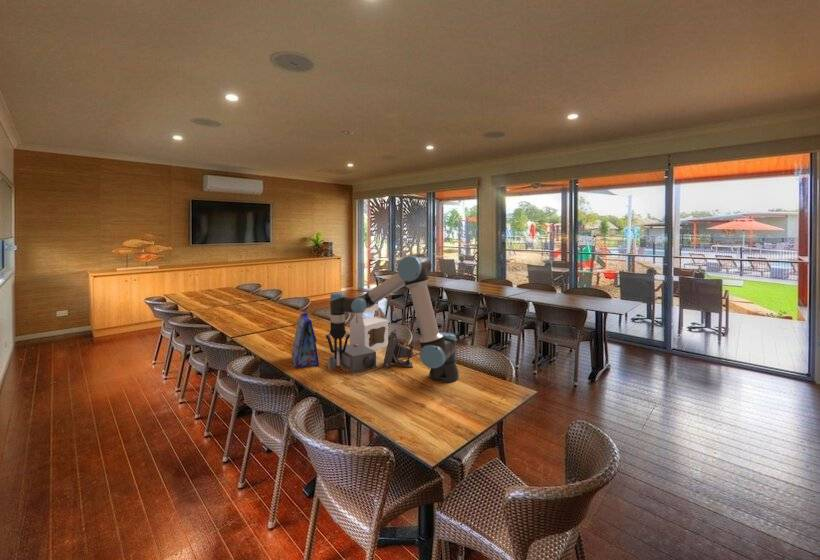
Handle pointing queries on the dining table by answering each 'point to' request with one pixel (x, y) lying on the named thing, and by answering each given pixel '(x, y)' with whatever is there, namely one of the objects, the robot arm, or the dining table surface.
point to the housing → (358, 358)
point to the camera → (397, 352)
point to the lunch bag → (304, 343)
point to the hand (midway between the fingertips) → (338, 364)
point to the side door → (332, 362)
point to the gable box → (376, 327)
